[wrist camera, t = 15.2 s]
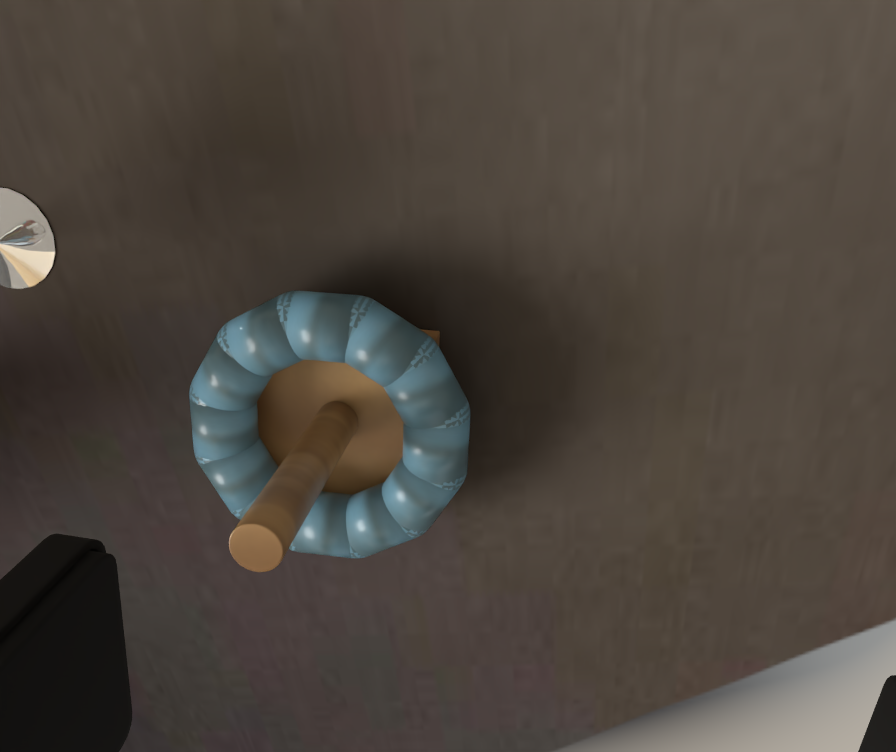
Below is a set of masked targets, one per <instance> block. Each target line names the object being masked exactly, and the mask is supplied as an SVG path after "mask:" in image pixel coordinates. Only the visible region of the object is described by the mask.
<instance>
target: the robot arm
mask: <svg viewBox="0 0 896 752" xmlns="http://www.w3.org/2000/svg"><path fill="white" fill-rule="evenodd" d="M131 721H132V705H131V696H130V686H129V677H128V667H127V658H126V648H125V639H124V629H123V620H122V610H121V601H120V591H119V582H118V572H117V564H116V559H115V558H114V556H113V555H111V554H108V553H106V551H105V547H104V545H103V544H102V542H101V541H98V540H95V539H88V538H81V537H75V536H68V535H62V534H53V535H50V536H48V537H47V538H46V539H44V540H43V541H42V542H41V543H40V544H39V545H38V546H37V547H35V548H34V549H33V550H32V551H31V552H30V553H29V554H28V555H27V556H26V557H25V558H24V559H23V560H21V561H20V562H19V563H18V564H17V565H16V566H15V567H14V568H13V569H12V570H11V571H10V572H8V573H7V574H6V575H5V576H4V577H3V578H2V579H1V580H0V752H119V750H120V749H121V747H122V746H123V744H124V742H125V740H126V738H127V735H128V733H129V730H130V726H131ZM858 752H896V675H894V676H890V677H889V678H887V680H886V682H885V684H884V686H883V688H882V691H881V694H880V697H879V699H878V702H877V704H876V707H875V709H874V712H873V715H872V717H871V720H870V722H869V725H868V728H867V730H866V733H865V735H864V738H863V741H862V744H861V746H860V749H859V751H858Z"/></svg>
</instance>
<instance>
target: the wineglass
mask: <svg viewBox="0 0 896 752" xmlns="http://www.w3.org/2000/svg"><path fill="white" fill-rule="evenodd" d="M54 256H55V245H54V236H53V234H52V231H51V229H50V226H49V224H48V221H47V220H46V218H45V217H44V215H43V214H42V213H41V211H40V210H39V209H38V207H37V206H36V205H35V204H33V203H32V202H31V201H30V200H28V199H27V198H26V197H25V196H23V195H22V194H19V193H17V192H15V191H12V190H10V189H8V188H0V285H2V286H4V287H9V288H18V289H22V288H27V287H31V286H34V285H36V284H37V283H39V282H40V281H42V280H43V279H44V278H45V277H46V276H47V274H48V273H49V271H50V269H51V268H52V266H53V261H54Z"/></svg>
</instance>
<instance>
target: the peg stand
mask: <svg viewBox="0 0 896 752" xmlns="http://www.w3.org/2000/svg"><path fill="white" fill-rule="evenodd" d="M420 330H422V331H423V332H425V333H426V334H428V335H429V336H430V337H431V338H433V339H434V340H435V342H436V343H437V345H438V346H439V342H440V331H433V330H423V329H420ZM257 409H258V429H259V437H260V438H261V440H262V442H263V443H264V445H265V446H266V448H267V450H268V451H269V453H270V454H271V456H272V457H273V459H274V461H275V462H276V464H277V465H278V469H277V470H276V471H275V473H274V474H273V476H272V477H271V478H270V480H269V481H268V483H267V484H266V485H265V487H264V488H263V490H262V491H261V492H260V494H259V495H258V497H257V498H256V499H255V501H254V502H253V504H252V505H251V506H250V508H249V509H248V511H247V512H246V513H245V515H244V516H243V518H242V519H241V520H240V522H239V523H238V525H237V526H236V527H235V529H234V530H233V532H232V533H231V535H230V538H229V549H230V552H231V554H232V556H233V558H234V559H235V560H236V561H237V562H238V563H239V564H240V565H241V566H243V567H244V568H246V569H248V570H251V571H255V572H266V571H270V570H272V569H274V568H276V567H277V566H278V565H279V564H280V563H281V561H282V559H283V557H284V556H285V554H286V552H287V550H288V549H289V547H290V545H291V543H292V542H293V540H294V538H295V536H296V535H297V533H298V531H299V529H300V528H301V526H302V524H303V522H304V521H305V519H306V517H307V515H308V514H309V512H310V510H311V508H312V507H313V505H314V503H315V501H316V500H317V498H318V496H319V494H320V493H321V491H324V492H334V493H343V494H356V493H358V492H361V491H363V490H366V489H368V488H370V487H373V486H375V485H378V484H380V483H383V482H385V481H386V479H387V478H388V476H389V475H390V474H391V472H392V471H393V469H394V468H395V466H396V465H397V464H398V462H399V461H400V459H401V458H402V456H403V421H402V419H401V417H400V416H399V414H398V412H397V410H396V409H395V407H394V405H393V403H392V402H391V400H390V398H389V396H388V395H387V393H386V391H385V389H384V387H382V386H381V385H379V384H378V383H376V382H375V381H373V380H371V379H370V378H368V377H367V376H365V375H364V374H362V373H361V372H359V371H357V370H356V369H354V368H353V367H351V366H350V365H348V364H346V363H339V362H327V361H316V360H302V361H300V362H298V363H296V364H294V365H292V366H290V367H288V368H286V369H283V370H281V371H279V372H277V373H275V374H273V375H272V377H271V379H270V381H269V382H268V384H267V386H266V387H265V389H264V391H263V392H262V394H261V396H260V398H259V399H258V401H257Z"/></svg>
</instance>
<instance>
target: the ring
mask: <svg viewBox="0 0 896 752" xmlns="http://www.w3.org/2000/svg"><path fill="white" fill-rule="evenodd" d="M302 360H316V361H327V362H339V363H346V364H348V365H350V366H351V367H353V368H354V369H356V370H357V371H359V372H361V373H362V374H364V375H365V376H367V377H368V378H370V379H371V380H373V381H375V382H376V383H378V384H379V385H381V386H382V387H384V389H385V391H386V393H387V395H388V396H389V398H390V400H391V402H392V403H393V405H394V407H395V409H396V410H397V412H398V414H399V416H400V417H401V419H402V421H403V456H402V458H401V459H400V461H399V462H398V464H397V465H396V466H395V468H394V469H393V471H392V472H391V474H390V475H389V476H388V478H387V479H386V481H385V482H383V483H380V484H378V485H375V486H373V487H370V488H368V489H366V490H363V491H361V492H358V493H356V494H343V493H334V492H324V491H321V493H320V494H319V496H318V498H317V500H316V501H315V503H314V505H313V507H312V508H311V510H310V512H309V514H308V515H307V517H306V519H305V521H304V522H303V524H302V526H301V528H300V529H299V531H298V533H297V535H296V536H295V538H294V540H293V542H292V543H291V545H290V547H289V549H290V550H293V551H296V552H303V553H312V554H320V555H329V556H338V557H347V558H364V557H367V556H370V555H372V554H375V553H378V552H380V551H383V550H385V549H388V548H391V547H393V546H396V545H398V544H401V543H404V542H406V541H409V540H412V539H414V538H417V537H419V536H421V535H422V534H424V533H425V532H426V531H427V530H428V529H429V528H430V527H431V525H432V524H433V523H434V521H435V520H436V519H437V518H438V516H439V515H440V514H441V512H442V511H443V510H444V508H445V507H446V506H447V504H448V503H449V502H450V500H451V499H452V498H453V496H454V495H455V494H456V492H457V491H458V490H459V488H460V487H461V486H462V484H463V482H464V480H465V478H466V475H467V467H468V449H469V432H470V406H469V403H468V400H467V398H466V396H465V394H464V392H463V391H462V389H461V387H460V385H459V383H458V381H457V379H456V378H455V376H454V374H453V372H452V370H451V368H450V366H449V365H448V363H447V361H446V359H445V357H444V355H443V353H442V352H441V350H440V348H439V346H438V345H437V343H436V342H435V340H434V339H433V338H431V337H430V336H429V335H428V334H426V333H425V332H423V331H422V330H420V329H419V328H417V327H415V326H414V325H412V324H411V323H409V322H408V321H406V320H405V319H403V318H402V317H400V316H399V315H397V314H395V313H394V312H392V311H391V310H389V309H388V308H386V307H385V306H383V305H382V304H380V303H378V302H377V301H375V300H374V299H372V298H369V297H366V296H360V295H350V294H337V293H324V292H311V291H289V292H286V293H283V294H281V295H279V296H277V297H275V298H273V299H271V300H269V301H267V302H265V303H263V304H261V305H259V306H257V307H255V308H253V309H252V310H250V311H248V312H246V313H244V314H242V315H240V316H238V317H236V318H234V319H232V320H230V321H229V322H227V323H226V324H225V325H224V326H223V327H222V328H221V329H220V330H219V332H218V334H217V336H216V337H215V339H214V341H213V343H212V345H211V347H210V349H209V350H208V352H207V354H206V356H205V358H204V360H203V362H202V363H201V365H200V367H199V369H198V371H197V373H196V375H195V376H194V378H193V380H192V383H191V386H190V390H189V400H190V411H191V423H192V434H193V446H194V454H195V457H196V459H197V462H198V463H199V465H200V466H201V468H202V469H203V471H204V472H205V474H206V475H207V477H208V478H209V480H210V481H211V483H212V484H213V486H214V488H215V489H216V491H217V492H218V494H219V495H220V497H221V498H222V500H223V501H224V503H225V504H226V506H227V507H228V509H229V510H230V511H231V512H232V514H233V515H235V516H236V517H237V518H238V519H240V520H241V519H242V518H243V516H244V515H245V513H246V512H247V511H248V509H249V508H250V506H251V505H252V504H253V502H254V501H255V499H256V498H257V497H258V495H259V494H260V492H261V491H262V490H263V488H264V487H265V485H266V484H267V483H268V481H269V480H270V478H271V477H272V476H273V474H274V473H275V471H276V470H277V469H278V465H277V464H276V462H275V461H274V459H273V457H272V456H271V454H270V453H269V451H268V450H267V448H266V446H265V445H264V443H263V442H262V440H261V438H260V437H259V429H258V409H257V401H258V399H259V398H260V396H261V394H262V392H263V391H264V389H265V387H266V386H267V384H268V382H269V381H270V379H271V377H272V375H273V374H275V373H277V372H279V371H281V370H283V369H286V368H288V367H290V366H292V365H294V364H296V363H298V362H300V361H302Z"/></svg>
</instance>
